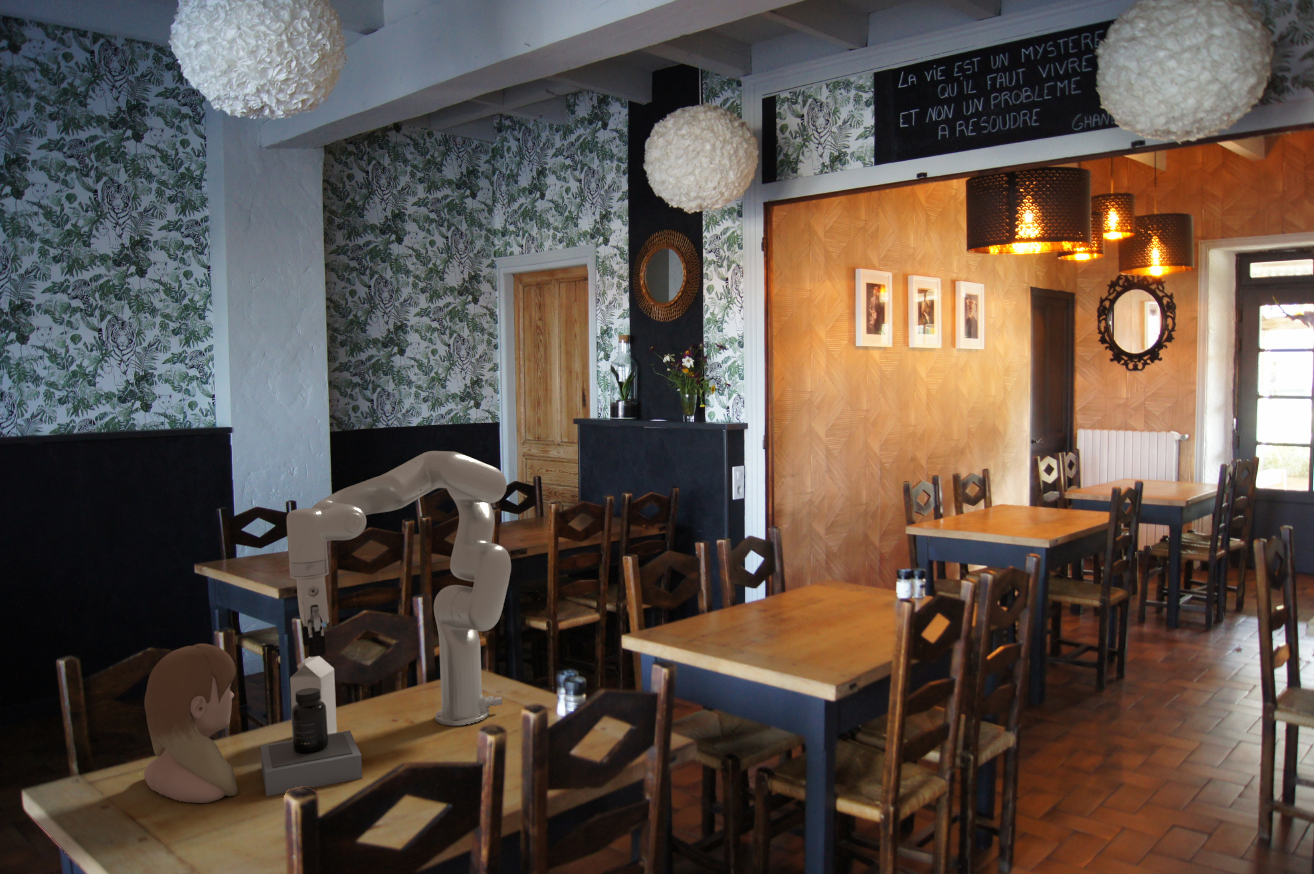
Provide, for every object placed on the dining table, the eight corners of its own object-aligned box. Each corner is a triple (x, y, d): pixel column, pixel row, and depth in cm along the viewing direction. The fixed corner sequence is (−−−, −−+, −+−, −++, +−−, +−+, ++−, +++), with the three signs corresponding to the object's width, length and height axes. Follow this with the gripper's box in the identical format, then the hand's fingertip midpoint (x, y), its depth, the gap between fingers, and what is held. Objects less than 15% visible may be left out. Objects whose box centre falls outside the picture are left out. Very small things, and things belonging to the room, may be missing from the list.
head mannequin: (274, 780, 192) (263, 644, 190) (192, 815, 178) (178, 668, 176) (208, 756, 206) (197, 629, 204) (127, 787, 193) (114, 651, 191)
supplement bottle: (298, 742, 200) (296, 686, 199) (332, 741, 200) (329, 684, 200) (288, 755, 193) (285, 696, 192) (322, 753, 193) (320, 695, 193)
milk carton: (337, 732, 220) (333, 651, 219) (323, 744, 213) (319, 659, 212) (307, 732, 221) (303, 651, 220) (292, 743, 213) (289, 659, 213)
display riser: (350, 751, 207) (349, 729, 207) (362, 777, 193) (361, 753, 193) (261, 767, 200) (260, 744, 200) (266, 796, 185) (265, 770, 185)
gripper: (334, 573, 191) (339, 657, 192) (322, 559, 206) (327, 637, 208) (294, 578, 188) (299, 663, 189) (285, 564, 203) (291, 643, 204)
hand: (314, 649), depth 198 cm, fingers open, 9 cm apart
